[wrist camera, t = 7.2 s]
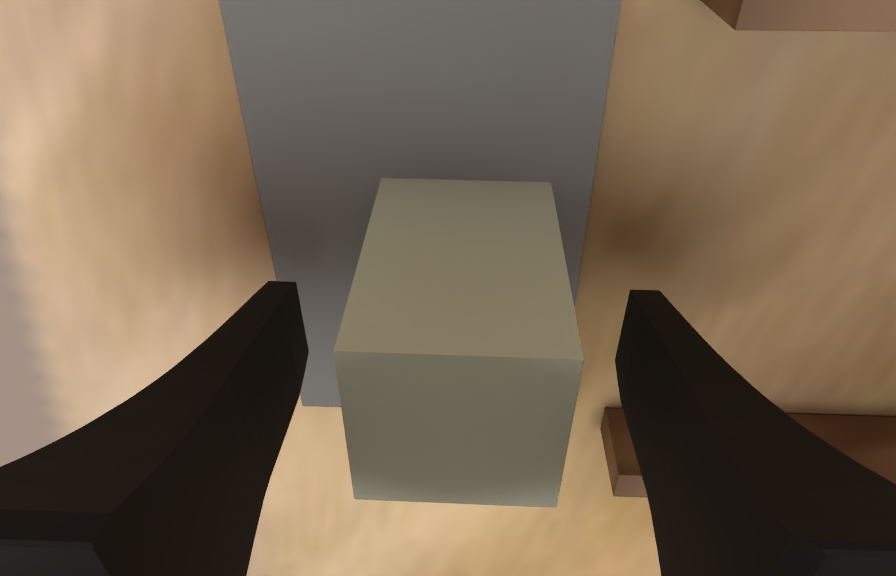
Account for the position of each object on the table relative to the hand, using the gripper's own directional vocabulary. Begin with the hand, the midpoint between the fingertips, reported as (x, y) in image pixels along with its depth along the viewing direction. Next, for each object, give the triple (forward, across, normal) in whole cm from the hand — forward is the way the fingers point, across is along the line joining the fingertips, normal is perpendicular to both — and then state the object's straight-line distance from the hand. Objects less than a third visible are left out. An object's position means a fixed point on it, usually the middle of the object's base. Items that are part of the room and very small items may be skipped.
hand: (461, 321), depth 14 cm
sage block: (+3, 0, 0) cm, 3 cm away
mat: (+3, +1, 0) cm, 3 cm away
